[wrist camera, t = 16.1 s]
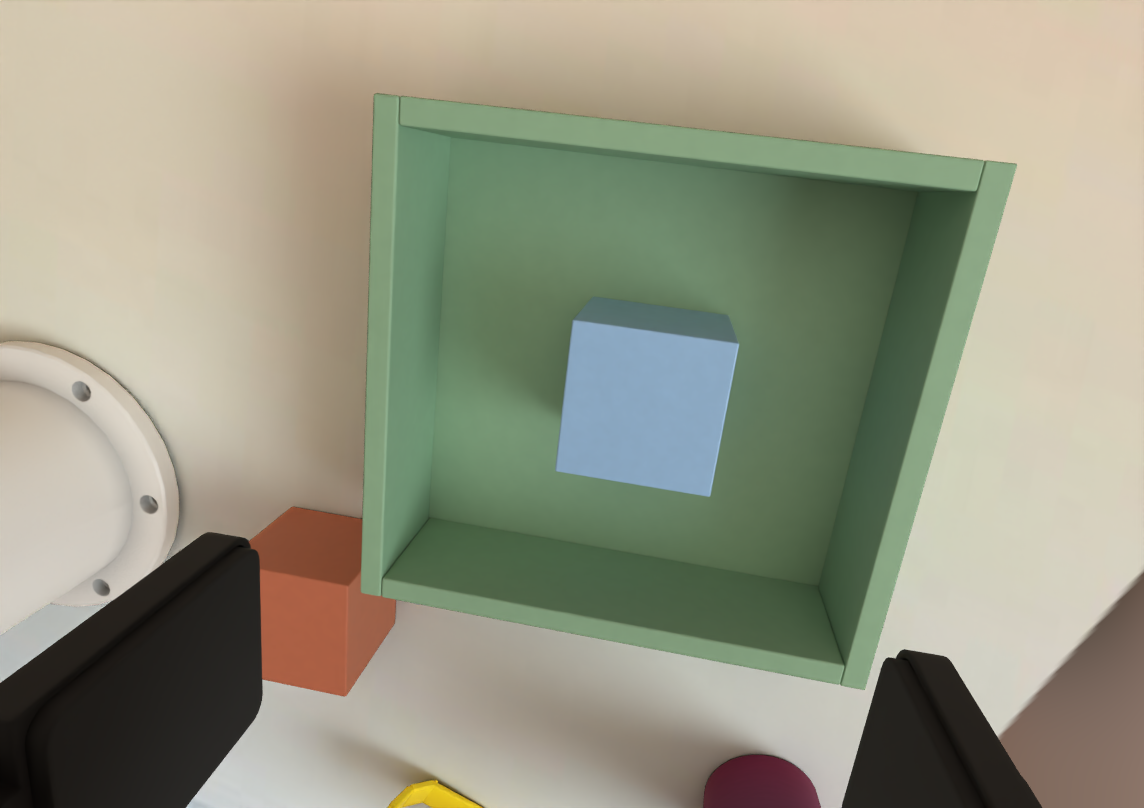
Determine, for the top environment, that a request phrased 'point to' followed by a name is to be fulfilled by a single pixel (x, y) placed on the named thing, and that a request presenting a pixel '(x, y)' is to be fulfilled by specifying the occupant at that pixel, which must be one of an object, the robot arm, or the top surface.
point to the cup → (759, 785)
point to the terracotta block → (317, 602)
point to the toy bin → (680, 280)
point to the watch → (431, 797)
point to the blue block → (646, 394)
